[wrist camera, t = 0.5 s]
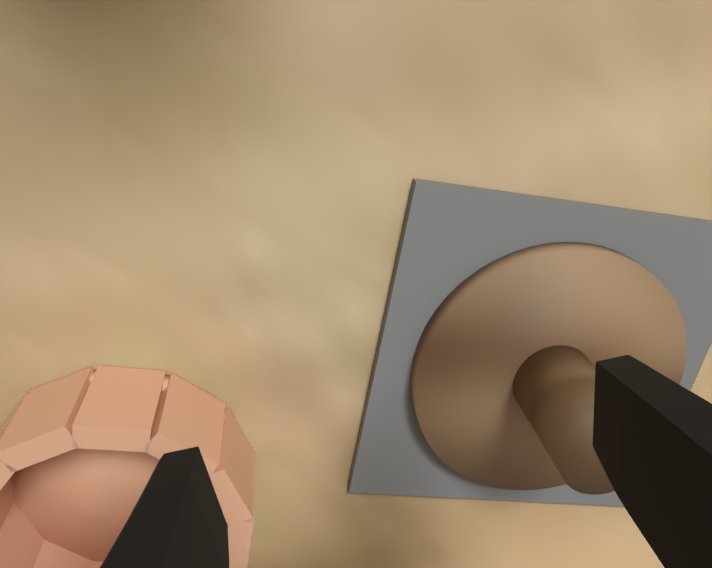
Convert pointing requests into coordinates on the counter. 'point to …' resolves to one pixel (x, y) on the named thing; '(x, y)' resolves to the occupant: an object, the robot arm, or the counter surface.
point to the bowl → (110, 463)
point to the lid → (537, 362)
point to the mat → (460, 260)
